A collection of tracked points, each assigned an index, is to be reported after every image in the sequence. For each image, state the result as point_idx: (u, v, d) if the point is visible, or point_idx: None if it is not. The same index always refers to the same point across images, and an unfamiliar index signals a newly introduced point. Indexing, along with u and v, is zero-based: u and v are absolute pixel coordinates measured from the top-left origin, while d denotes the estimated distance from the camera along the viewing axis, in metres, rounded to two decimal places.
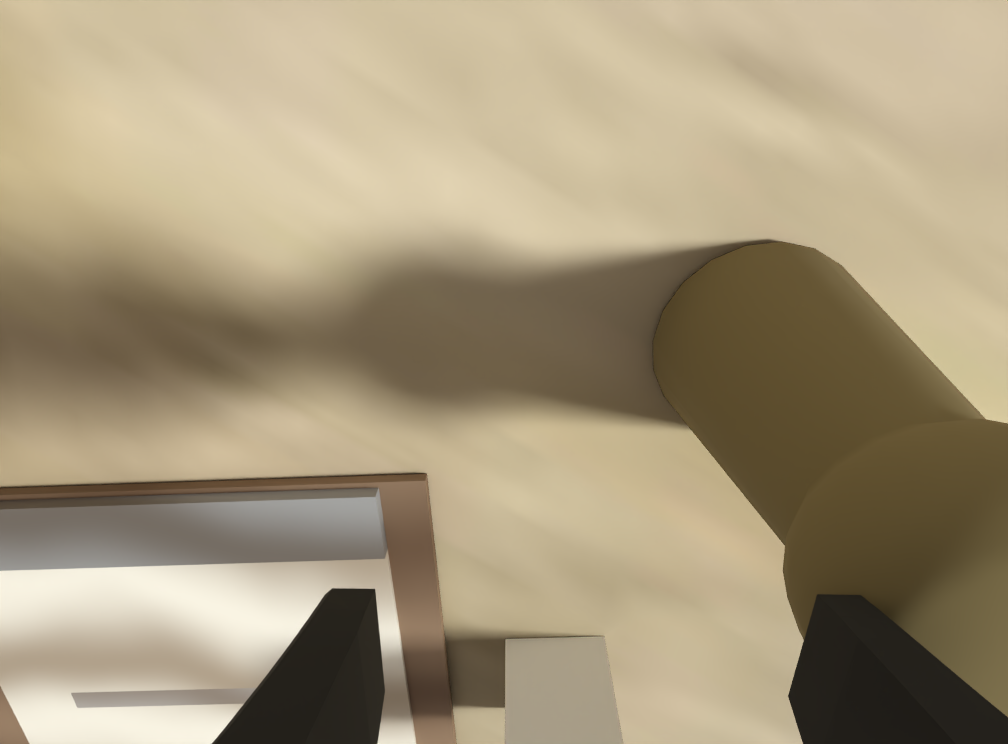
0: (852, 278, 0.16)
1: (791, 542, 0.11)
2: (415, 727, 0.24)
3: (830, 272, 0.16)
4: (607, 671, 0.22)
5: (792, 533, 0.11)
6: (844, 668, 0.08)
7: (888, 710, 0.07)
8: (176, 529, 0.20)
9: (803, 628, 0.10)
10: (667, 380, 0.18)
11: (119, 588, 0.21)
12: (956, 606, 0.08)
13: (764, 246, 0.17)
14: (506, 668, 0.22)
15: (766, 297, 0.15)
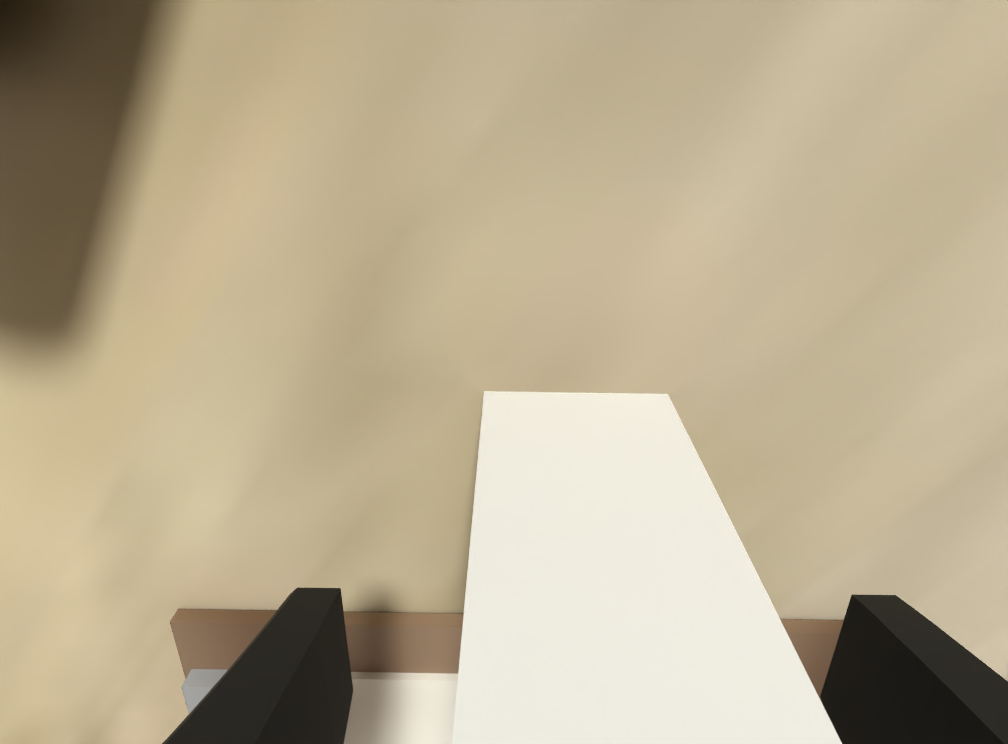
0: None
1: None
2: None
3: None
4: None
5: None
6: (882, 668, 0.08)
7: (930, 710, 0.07)
8: None
9: None
10: None
11: None
12: None
13: None
14: None
15: None
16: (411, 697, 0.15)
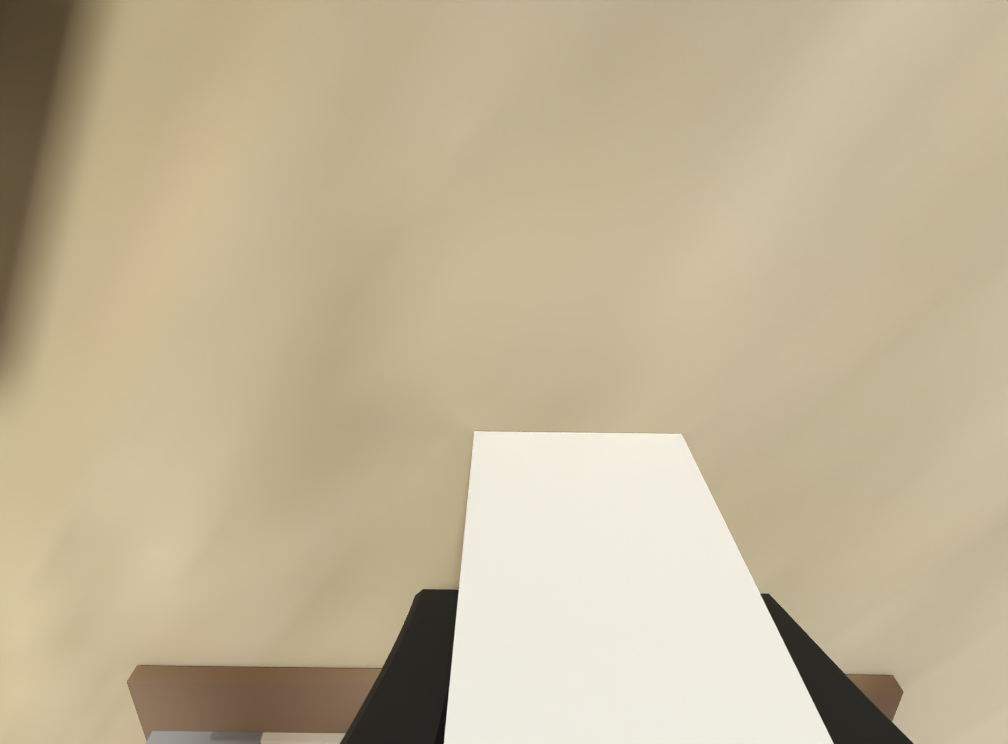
0: None
1: None
2: None
3: None
4: None
5: None
6: None
7: None
8: None
9: None
10: None
11: None
12: None
13: None
14: None
15: None
16: None
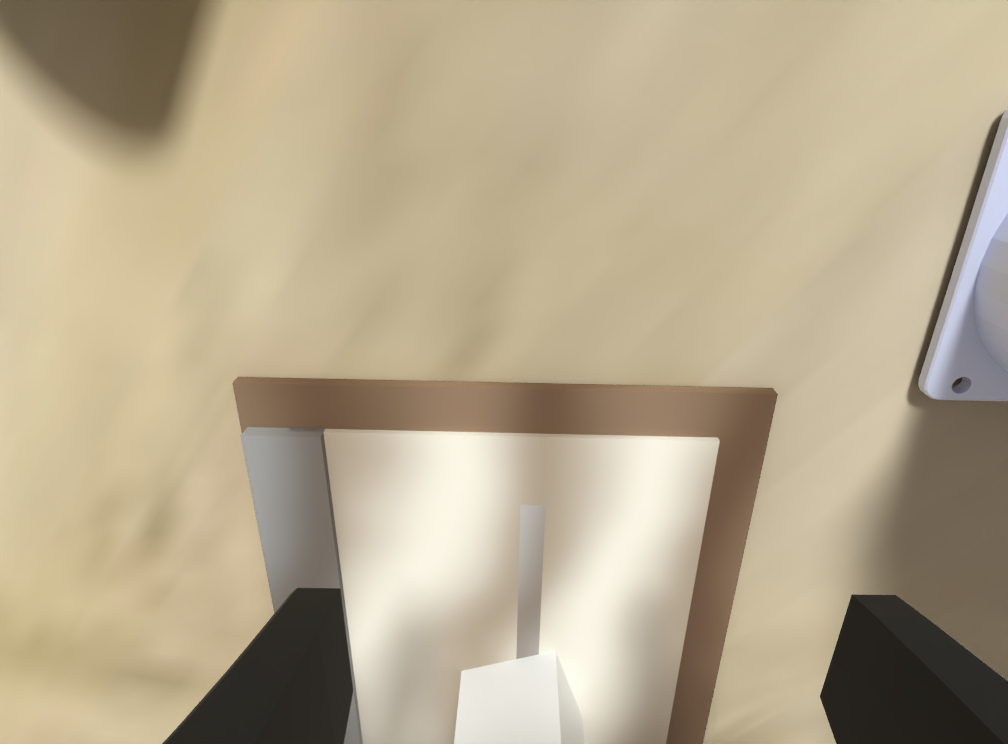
0: None
1: None
2: (607, 433, 0.19)
3: None
4: (458, 710, 0.22)
5: None
6: (882, 669, 0.08)
7: (930, 711, 0.07)
8: None
9: None
10: None
11: (383, 653, 0.23)
12: None
13: None
14: None
15: None
16: (418, 451, 0.19)
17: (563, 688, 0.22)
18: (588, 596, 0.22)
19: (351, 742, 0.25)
